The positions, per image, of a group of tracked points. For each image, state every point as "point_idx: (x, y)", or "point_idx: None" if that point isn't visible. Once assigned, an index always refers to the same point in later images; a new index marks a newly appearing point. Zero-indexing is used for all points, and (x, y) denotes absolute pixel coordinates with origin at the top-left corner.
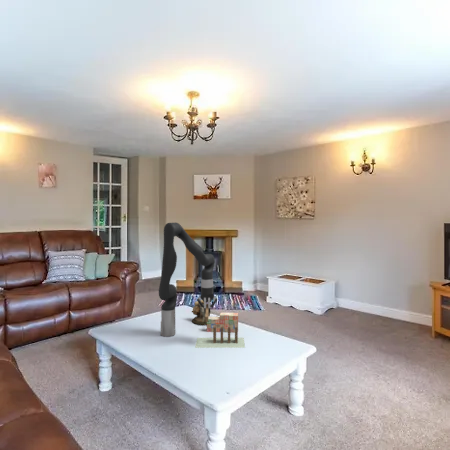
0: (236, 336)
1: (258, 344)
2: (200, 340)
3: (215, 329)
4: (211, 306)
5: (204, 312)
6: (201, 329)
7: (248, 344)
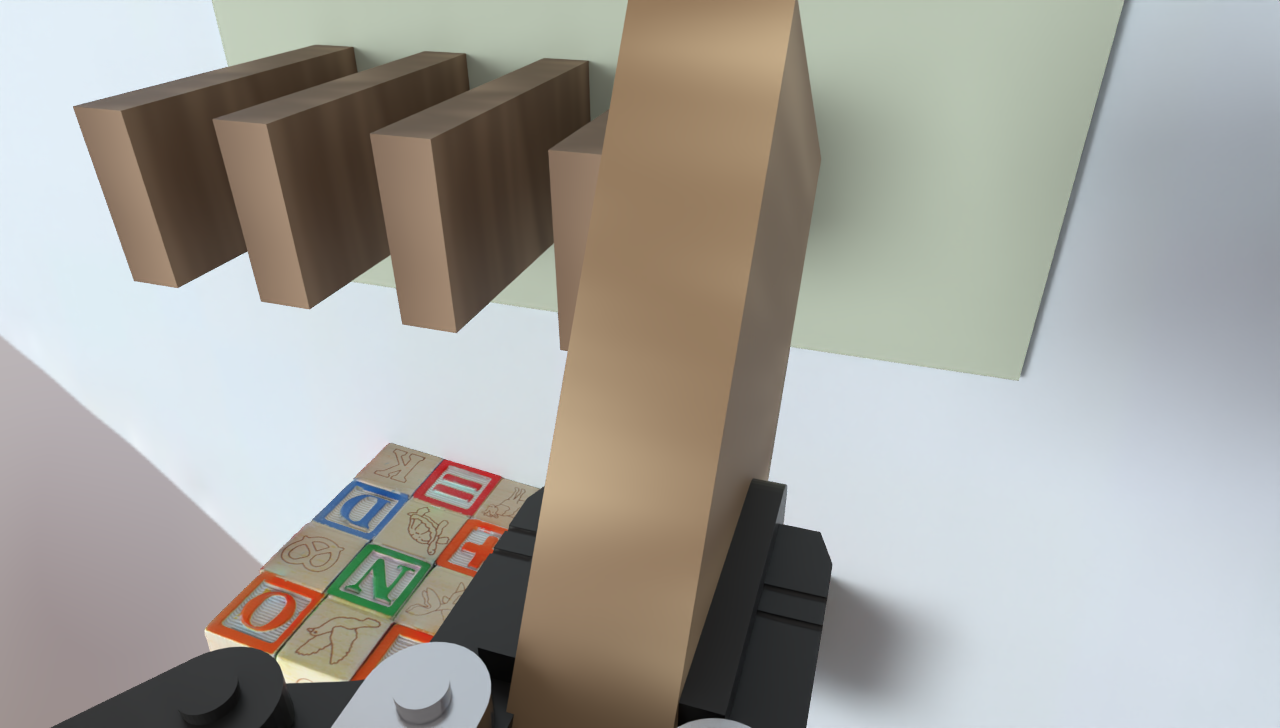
0: (249, 68)
1: (51, 6)
2: (972, 240)
3: (579, 135)
4: (261, 700)
5: (814, 556)
6: (897, 683)
7: (173, 13)
